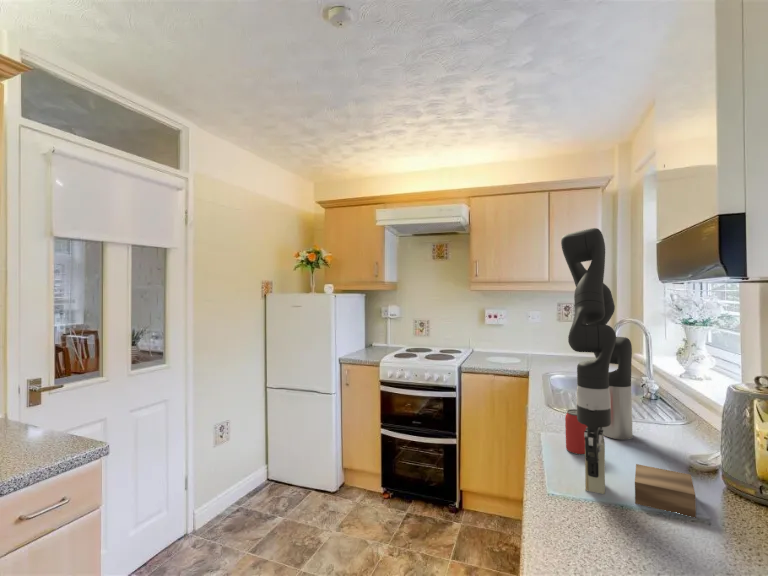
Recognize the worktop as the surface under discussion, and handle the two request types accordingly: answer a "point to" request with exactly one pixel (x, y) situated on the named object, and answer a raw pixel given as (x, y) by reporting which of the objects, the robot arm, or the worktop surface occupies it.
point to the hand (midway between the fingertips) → (595, 470)
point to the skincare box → (599, 482)
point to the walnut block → (665, 490)
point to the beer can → (574, 433)
